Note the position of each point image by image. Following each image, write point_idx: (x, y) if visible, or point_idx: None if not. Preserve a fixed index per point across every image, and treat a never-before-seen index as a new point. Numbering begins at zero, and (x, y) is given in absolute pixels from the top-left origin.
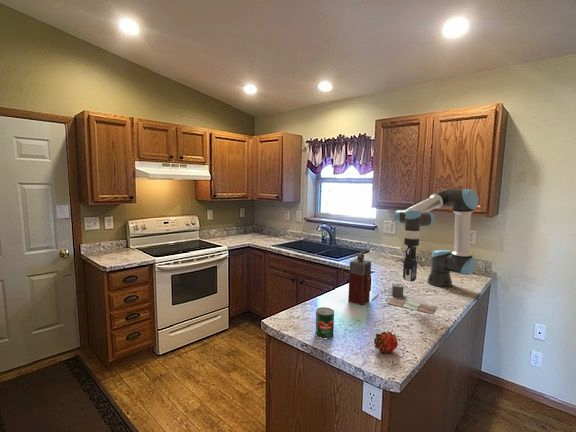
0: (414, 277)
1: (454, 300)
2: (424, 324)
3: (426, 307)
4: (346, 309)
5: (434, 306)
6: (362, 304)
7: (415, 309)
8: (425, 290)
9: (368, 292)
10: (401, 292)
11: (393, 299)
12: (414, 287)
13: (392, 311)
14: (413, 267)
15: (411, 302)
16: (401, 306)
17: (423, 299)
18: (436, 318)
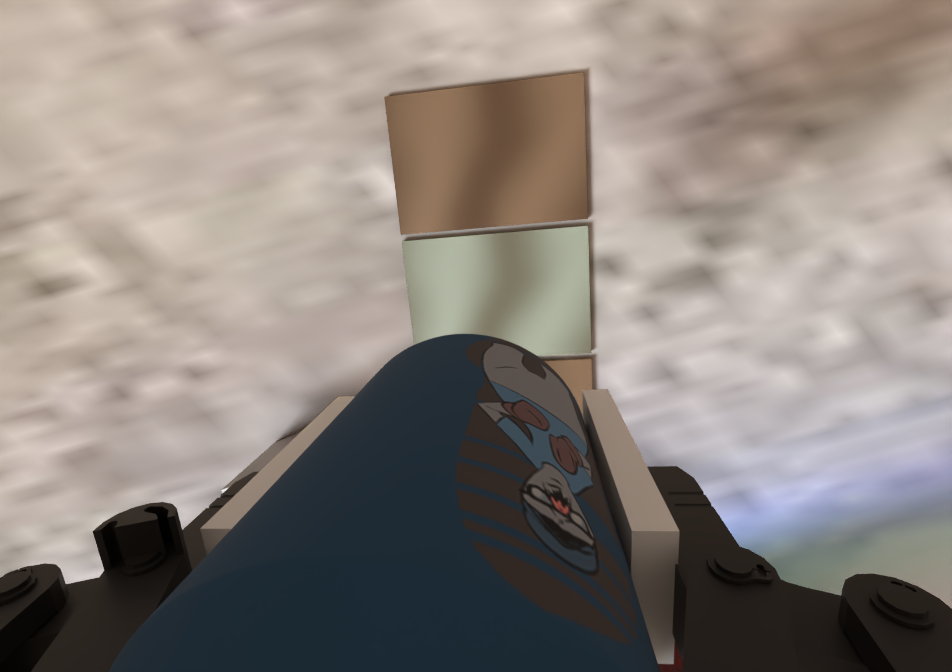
0: (524, 358)
1: (70, 2)
2: (893, 68)
3: (466, 170)
4: None
5: (388, 115)
6: None
7: (584, 238)
8: (34, 303)
9: (679, 665)
10: None
11: None
12: (41, 400)
13: (742, 385)
14: (586, 513)
15: (435, 315)
16: (582, 358)
17: (270, 254)
18: (671, 16)
